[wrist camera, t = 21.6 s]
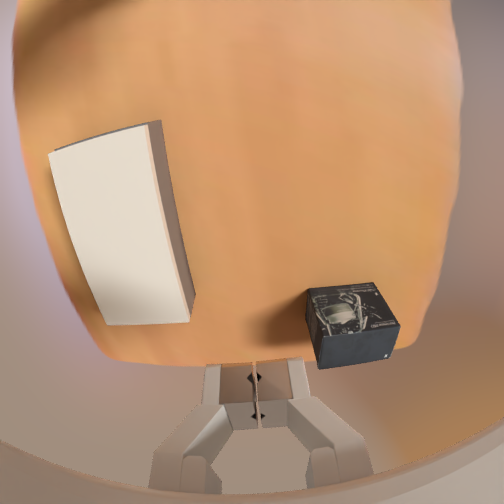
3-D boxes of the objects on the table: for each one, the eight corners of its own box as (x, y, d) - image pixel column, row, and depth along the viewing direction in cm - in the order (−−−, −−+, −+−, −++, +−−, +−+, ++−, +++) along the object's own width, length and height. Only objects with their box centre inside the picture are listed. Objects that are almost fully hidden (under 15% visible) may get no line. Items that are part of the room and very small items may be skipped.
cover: (53, 151, 25) (47, 153, 24) (147, 124, 25) (144, 125, 24) (109, 319, 36) (107, 325, 35) (190, 315, 36) (189, 322, 35)
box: (374, 279, 41) (402, 325, 32) (367, 313, 44) (390, 360, 35) (306, 286, 41) (322, 338, 32) (304, 320, 44) (317, 372, 35)
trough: (71, 143, 30) (49, 151, 25) (161, 119, 29) (147, 122, 25) (117, 298, 41) (106, 319, 37) (195, 293, 41) (190, 316, 36)
